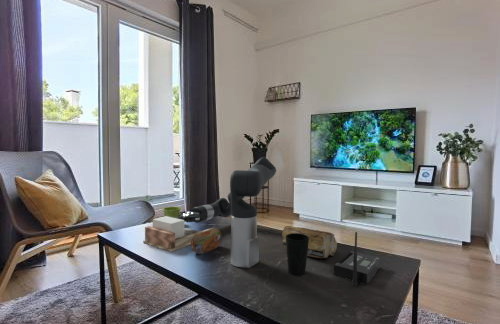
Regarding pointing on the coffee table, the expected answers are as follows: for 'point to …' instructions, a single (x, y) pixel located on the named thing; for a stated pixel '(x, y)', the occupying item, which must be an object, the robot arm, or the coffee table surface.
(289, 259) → the cup
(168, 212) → the plant pot
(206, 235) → the tin
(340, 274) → the wireless controller
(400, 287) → the coffee table surface
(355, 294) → the coffee table surface
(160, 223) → the white rectangular block
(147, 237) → the roller track
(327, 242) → the petrified wood
